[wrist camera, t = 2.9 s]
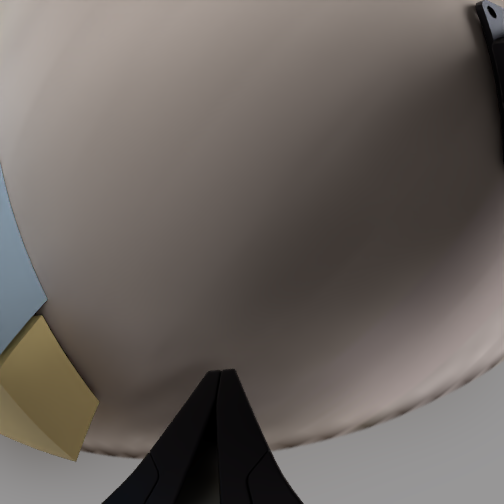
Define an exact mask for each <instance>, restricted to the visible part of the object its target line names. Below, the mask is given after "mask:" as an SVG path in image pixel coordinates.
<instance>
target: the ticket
mask: <svg viewBox="0 0 504 504" xmlns="http://www.w3.org/2000/svg"><path fill="white" fill-rule="evenodd" d="M47 300H48V299H47V297H46V295H45V293H44V291H43V289H42V287H41V285H40V283H39V280H38V278H37V276H36V274H35V271H34V269H33V267H32V264H31V262H30V259H29V257H28V254H27V252H26V249H25V247H24V244H23V241H22V239H21V236H20V233H19V230H18V227H17V224H16V221H15V218H14V215H13V212H12V208H11V205H10V201H9V198H8V194H7V190H6V186H5V182H4V178H3V174H2V169H1V165H0V355H1V353H2V352H3V351H4V350H5V348H6V347H7V346H8V345H9V343H10V342H11V341H12V340H13V338H14V337H15V336H16V335H17V334H18V332H19V331H20V330H21V329H22V328H23V326H24V325H25V324H26V323H27V322H28V321H29V319H30V318H31V317H32V316H33V315H34V314H35V313H36V312H37V310H38V309H39V308H40V307H41V306H42V305H43V304H44V303H45V302H46V301H47Z"/></svg>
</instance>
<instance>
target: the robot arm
mask: <svg viewBox="0 0 504 504" xmlns="http://www.w3.org/2000/svg"><path fill="white" fill-rule="evenodd" d="M476 10H477V13H478V16H479V19H480V22H481V25H482V28H483V31H484V34H485V38H486V41H487V45H488V49H489V53H490V57H491V61H492V65H493V70H494V75H495V80H496V86H497V92H498V99H499V106H500V115H501V125H502V139H503V162H504V8H502V7H500V6H498V5H496V4H494V3H492V2H490V1H487V0H483V1H480V2H478V3H476ZM102 504H303V502H302V501H301V500H300V498H299V497H298V496H297V494H296V493H295V492H294V491H293V489H292V488H291V486H290V485H289V483H288V482H287V480H286V479H285V477H284V476H283V474H282V472H281V470H280V468H279V466H278V465H277V463H276V461H275V459H274V457H273V454H272V452H271V451H270V448H269V446H268V444H267V442H266V440H265V437H264V435H263V433H262V431H261V429H260V426H259V424H258V422H257V420H256V417H255V415H254V413H253V410H252V408H251V406H250V403H249V401H248V399H247V396H246V394H245V392H244V389H243V387H242V384H241V382H240V380H239V377H238V375H237V372H236V370H235V369H225V370H222V371H221V370H215V371H209V372H207V373H206V375H205V376H204V378H203V379H202V381H201V382H200V383H199V385H198V386H197V388H196V389H195V390H194V392H193V393H192V395H191V396H190V397H189V399H188V400H187V401H186V403H185V404H184V406H183V407H182V408H181V410H180V411H179V412H178V414H177V415H176V417H175V418H174V419H173V421H172V422H171V423H170V425H169V426H168V427H167V429H166V430H165V431H164V433H163V434H162V436H161V437H160V438H159V440H158V441H157V442H156V444H155V445H154V446H153V447H152V449H151V450H150V453H148V454H147V455H146V457H145V458H144V459H143V460H142V462H141V463H140V464H139V465H138V467H137V468H136V469H135V470H134V472H133V473H132V474H131V475H130V476H129V477H128V478H127V479H126V480H125V481H124V482H123V483H122V484H121V486H119V488H117V489H116V490H115V491H114V492H113V493H112V494H111V495H110V496H109V497H108V498H107V499H106V500H105V501H104V502H103V503H102Z"/></svg>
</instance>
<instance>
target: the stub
mask: <svg viewBox="0 0 504 504" xmlns="http://www.w3.org/2000/svg"><path fill="white" fill-rule="evenodd" d="M98 404H99V401H98V400H97V398H96V397H95V396H94V395H93V393H92V392H91V391H90V389H89V388H88V387H87V385H86V384H85V383H84V381H83V380H82V378H81V377H80V376H79V374H78V373H77V371H76V370H75V368H74V367H73V365H72V364H71V362H70V361H69V359H68V358H67V356H66V355H65V353H64V352H63V350H62V349H61V347H60V345H59V344H58V342H57V340H56V339H55V337H54V335H53V334H52V332H51V330H50V328H49V327H48V325H47V323H46V321H45V320H44V318H43V316H42V315H39V316H32V317H31V318H30V319H29V321H28V322H27V323H26V324H25V325H24V326H23V328H22V329H21V330H20V331H19V332H18V334H17V335H16V336H15V337H14V338H13V340H12V341H11V342H10V343H9V345H8V346H7V347H6V348H5V350H4V351H3V352H2V353H1V355H0V434H2V435H4V436H6V437H8V438H10V439H13V440H15V441H17V442H20V443H22V444H25V445H27V446H30V447H33V448H35V449H38V450H41V451H43V452H46V453H49V454H52V455H56V456H58V457H62V458H65V459H69V460H72V461H76V460H77V458H78V455H79V452H80V450H81V447H82V444H83V442H84V439H85V436H86V434H87V431H88V429H89V426H90V424H91V421H92V419H93V416H94V414H95V411H96V409H97V406H98Z"/></svg>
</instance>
